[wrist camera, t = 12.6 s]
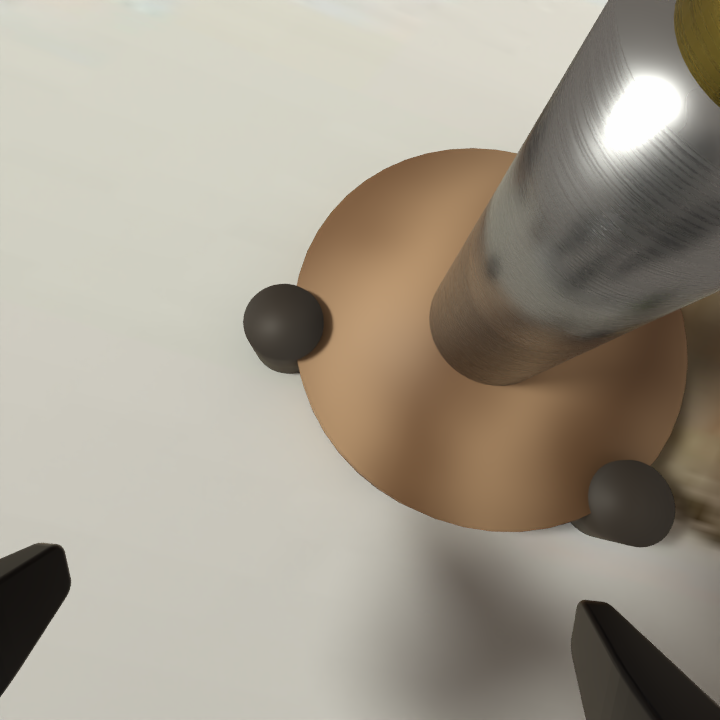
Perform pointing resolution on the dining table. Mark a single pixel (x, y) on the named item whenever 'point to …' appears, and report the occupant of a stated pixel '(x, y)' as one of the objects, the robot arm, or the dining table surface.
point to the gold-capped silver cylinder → (597, 202)
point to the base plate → (456, 392)
